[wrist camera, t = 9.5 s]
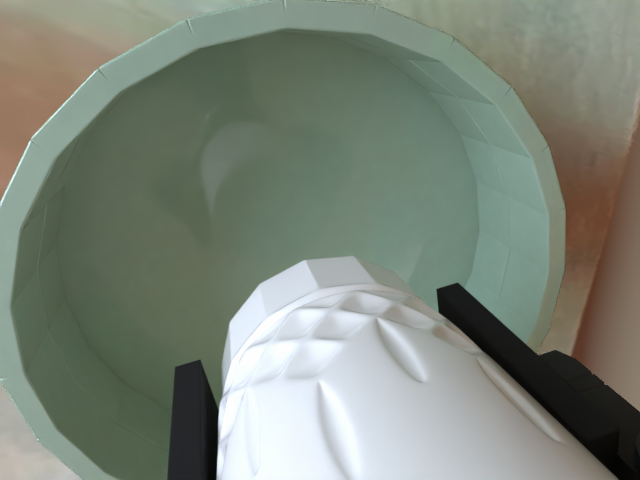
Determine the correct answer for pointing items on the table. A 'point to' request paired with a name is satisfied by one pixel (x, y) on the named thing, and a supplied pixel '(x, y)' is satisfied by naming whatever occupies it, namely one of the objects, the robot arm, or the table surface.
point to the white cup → (374, 390)
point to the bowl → (255, 206)
